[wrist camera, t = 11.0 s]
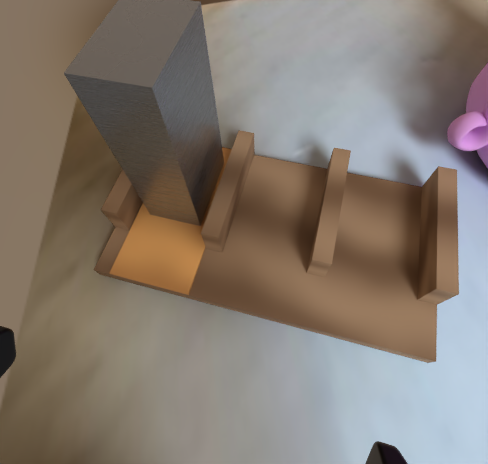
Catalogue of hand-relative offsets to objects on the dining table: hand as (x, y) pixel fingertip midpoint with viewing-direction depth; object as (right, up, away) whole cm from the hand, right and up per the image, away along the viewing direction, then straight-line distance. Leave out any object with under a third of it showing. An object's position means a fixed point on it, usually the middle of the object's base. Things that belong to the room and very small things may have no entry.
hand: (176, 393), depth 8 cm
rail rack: (+4, +4, +17) cm, 18 cm away
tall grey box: (-3, +7, +18) cm, 19 cm away
